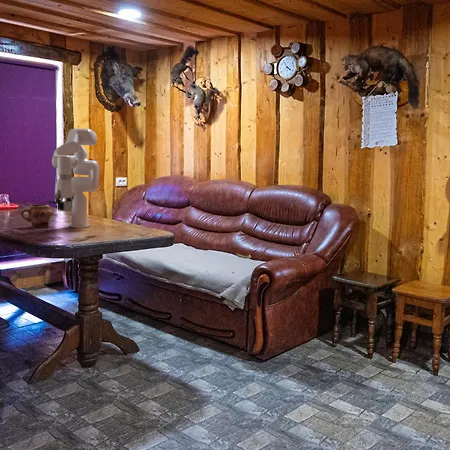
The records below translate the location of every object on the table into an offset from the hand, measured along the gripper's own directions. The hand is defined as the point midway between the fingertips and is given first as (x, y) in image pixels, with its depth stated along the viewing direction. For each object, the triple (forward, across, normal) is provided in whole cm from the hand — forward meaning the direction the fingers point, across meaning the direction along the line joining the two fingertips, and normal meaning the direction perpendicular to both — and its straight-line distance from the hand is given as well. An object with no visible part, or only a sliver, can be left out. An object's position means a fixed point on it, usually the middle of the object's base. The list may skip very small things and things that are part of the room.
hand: (65, 208), depth 295 cm
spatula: (+15, +4, +16) cm, 22 cm away
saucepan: (+1, 0, -4) cm, 4 cm away
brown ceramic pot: (+15, -18, -34) cm, 42 cm away
